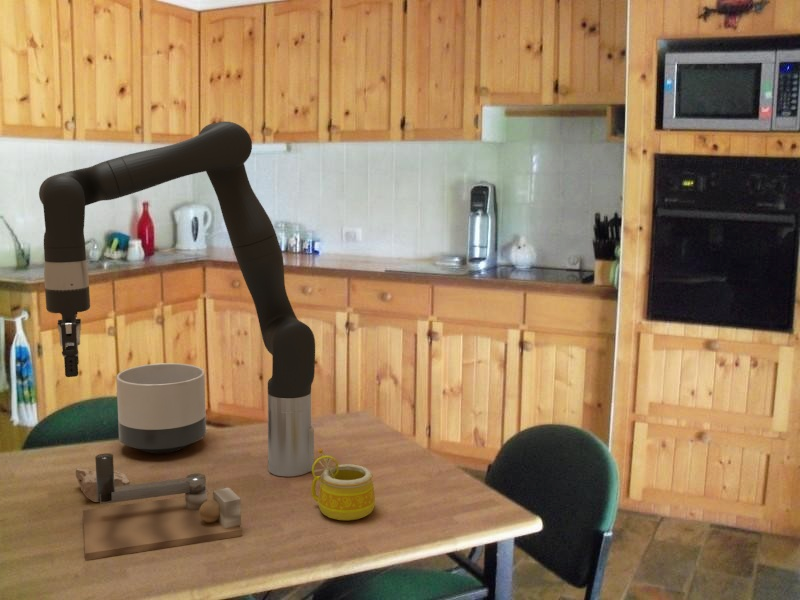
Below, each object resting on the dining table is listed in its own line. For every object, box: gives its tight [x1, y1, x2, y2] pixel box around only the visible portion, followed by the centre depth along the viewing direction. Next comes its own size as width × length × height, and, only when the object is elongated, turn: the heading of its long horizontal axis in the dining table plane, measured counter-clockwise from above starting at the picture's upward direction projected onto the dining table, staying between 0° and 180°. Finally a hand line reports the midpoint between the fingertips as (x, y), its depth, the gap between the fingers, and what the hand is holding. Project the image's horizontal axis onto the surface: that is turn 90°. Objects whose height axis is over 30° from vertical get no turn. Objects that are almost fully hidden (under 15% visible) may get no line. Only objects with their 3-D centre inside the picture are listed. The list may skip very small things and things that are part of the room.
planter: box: [115, 362, 207, 455], centre depth 186 cm, size 19×19×18 cm
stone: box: [75, 468, 131, 503], centre depth 162 cm, size 9×11×5 cm
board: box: [82, 487, 243, 561], centre depth 147 cm, size 26×18×6 cm
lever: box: [94, 453, 207, 505], centre depth 149 cm, size 19×4×8 cm, turn 112°
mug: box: [310, 448, 376, 522], centre depth 154 cm, size 13×11×12 cm
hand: (72, 370), depth 151 cm, fingers open, 8 cm apart
